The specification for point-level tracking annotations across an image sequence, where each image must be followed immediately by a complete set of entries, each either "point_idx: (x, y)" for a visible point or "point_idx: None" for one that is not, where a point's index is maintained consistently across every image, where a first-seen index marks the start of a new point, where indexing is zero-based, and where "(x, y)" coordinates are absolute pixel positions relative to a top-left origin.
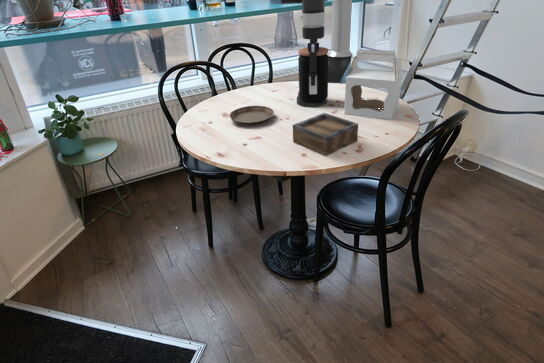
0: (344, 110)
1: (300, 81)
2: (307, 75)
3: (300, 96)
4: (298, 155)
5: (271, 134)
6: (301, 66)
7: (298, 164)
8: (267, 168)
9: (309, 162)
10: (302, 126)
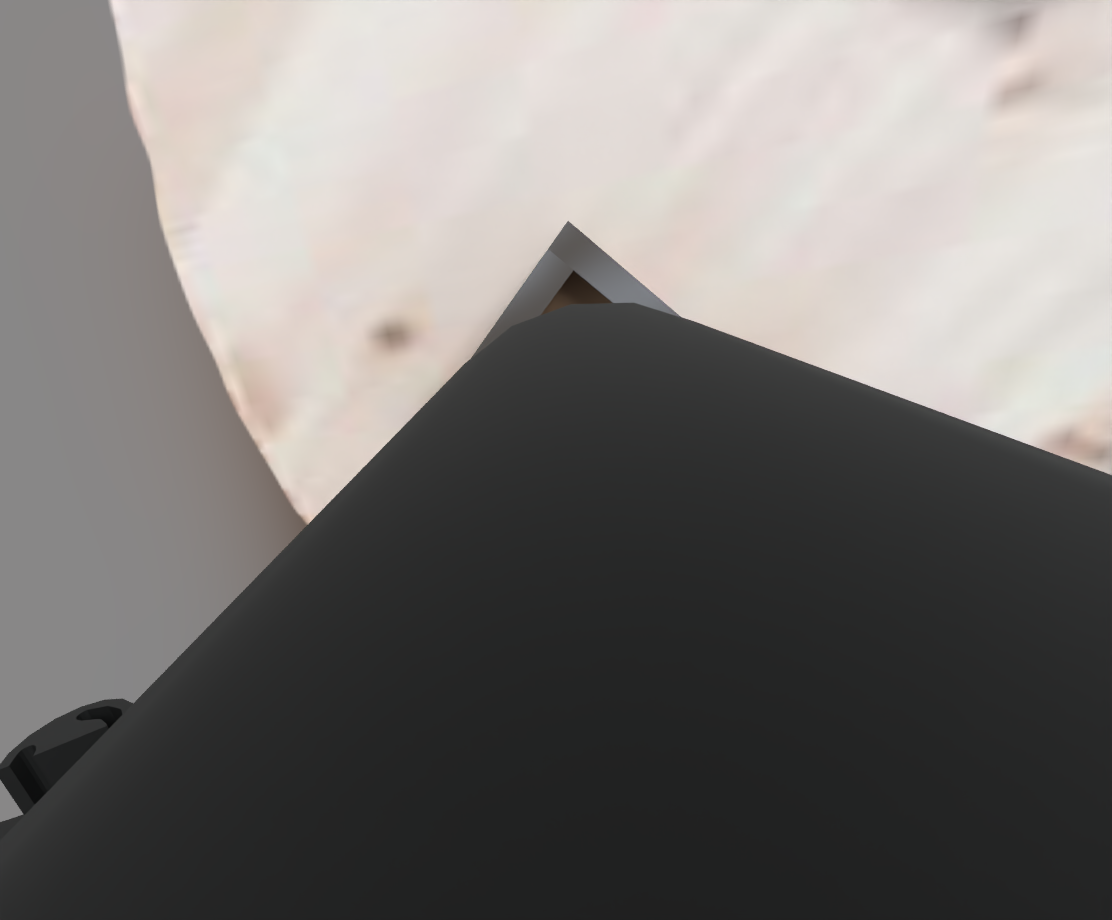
0: None
1: (445, 394)
2: (26, 743)
3: (497, 338)
4: (382, 303)
5: (698, 10)
6: (110, 734)
7: (272, 323)
8: (159, 129)
9: (313, 382)
10: (609, 300)
